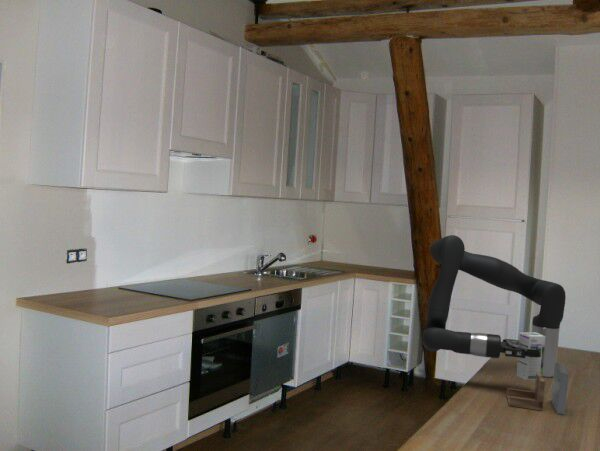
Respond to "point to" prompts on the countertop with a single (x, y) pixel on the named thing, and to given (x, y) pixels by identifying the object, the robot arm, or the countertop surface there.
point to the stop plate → (559, 388)
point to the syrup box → (531, 364)
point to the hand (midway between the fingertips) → (537, 351)
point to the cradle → (528, 395)
